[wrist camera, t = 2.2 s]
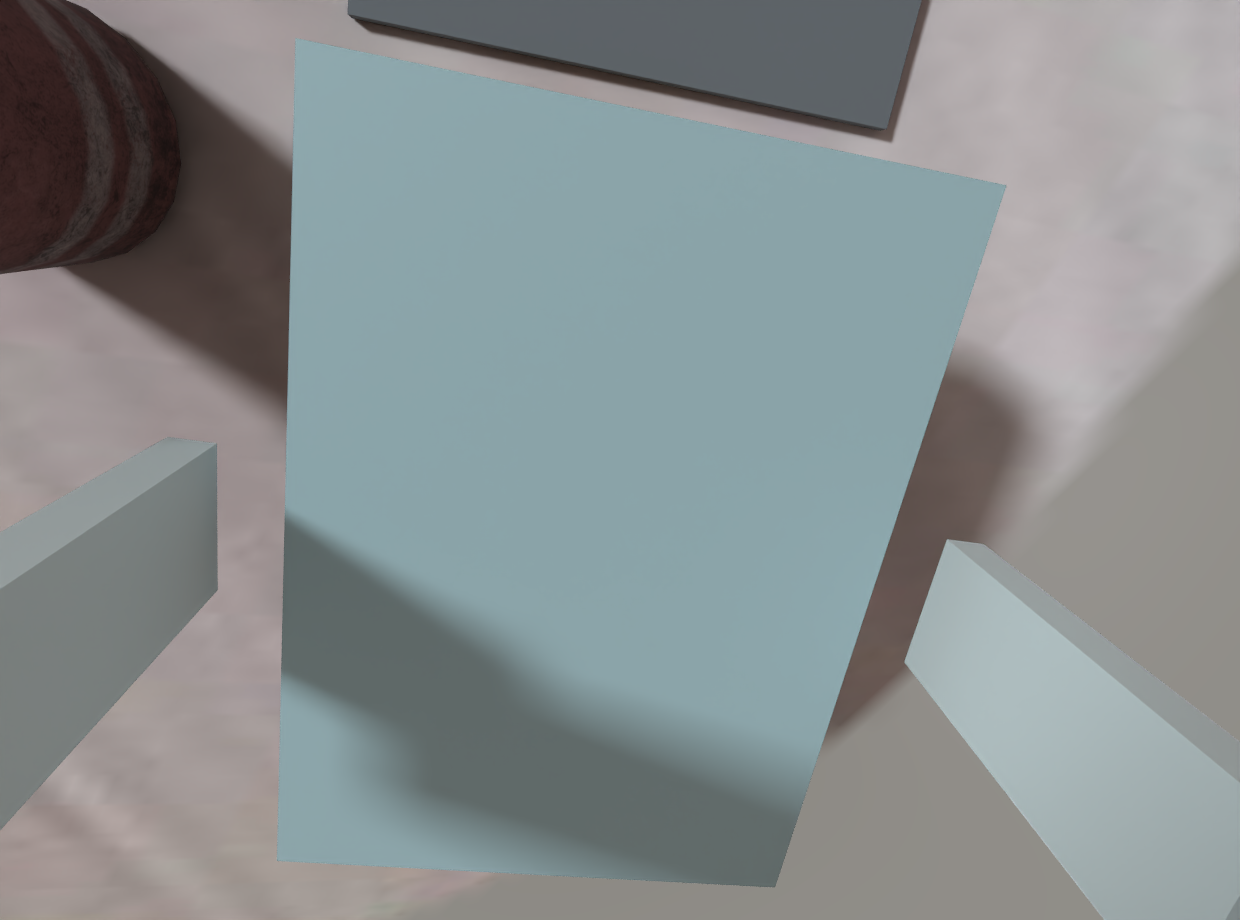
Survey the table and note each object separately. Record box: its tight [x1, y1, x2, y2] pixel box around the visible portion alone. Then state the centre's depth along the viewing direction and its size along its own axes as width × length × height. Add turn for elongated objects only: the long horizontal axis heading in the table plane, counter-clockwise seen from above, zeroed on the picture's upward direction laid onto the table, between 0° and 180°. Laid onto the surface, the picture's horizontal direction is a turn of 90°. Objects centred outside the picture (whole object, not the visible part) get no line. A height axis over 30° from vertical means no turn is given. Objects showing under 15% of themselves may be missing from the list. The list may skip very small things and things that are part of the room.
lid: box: [277, 38, 1006, 887], centre depth 15 cm, size 14×10×6 cm
